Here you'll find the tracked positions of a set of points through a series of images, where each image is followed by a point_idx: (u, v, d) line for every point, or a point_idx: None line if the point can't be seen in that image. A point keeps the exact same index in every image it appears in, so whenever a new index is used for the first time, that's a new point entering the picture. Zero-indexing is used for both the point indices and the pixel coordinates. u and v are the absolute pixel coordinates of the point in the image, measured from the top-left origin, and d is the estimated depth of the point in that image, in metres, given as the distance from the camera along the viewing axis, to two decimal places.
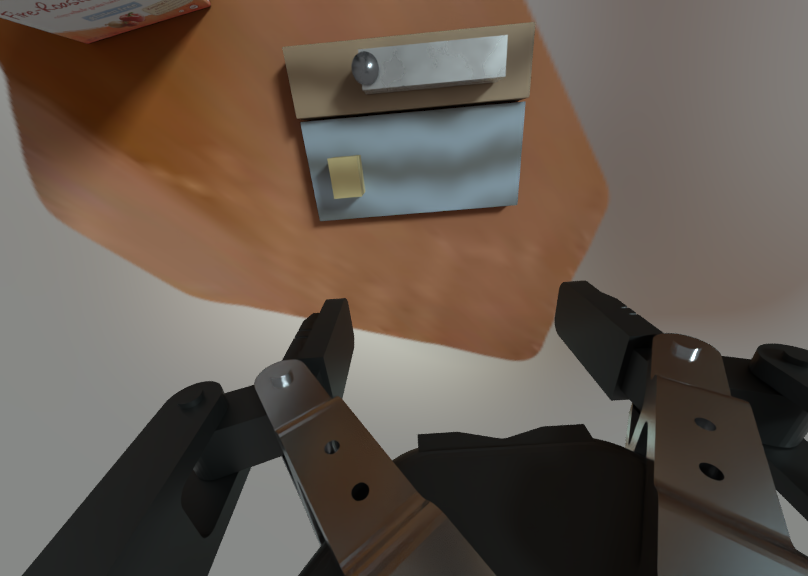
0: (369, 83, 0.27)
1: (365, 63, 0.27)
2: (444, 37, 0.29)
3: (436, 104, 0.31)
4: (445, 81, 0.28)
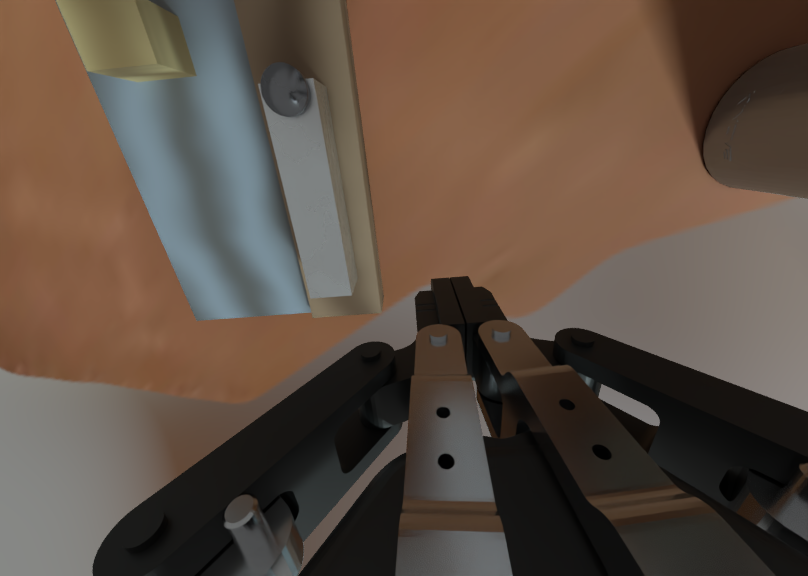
0: (264, 97, 0.16)
1: (290, 91, 0.16)
2: (361, 214, 0.23)
3: (286, 208, 0.22)
4: (293, 223, 0.20)
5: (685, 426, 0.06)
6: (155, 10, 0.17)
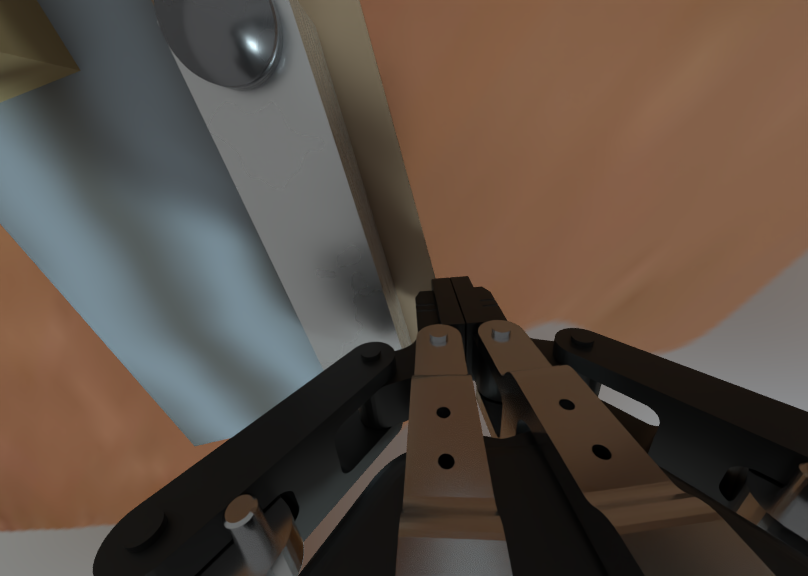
0: (174, 48, 0.07)
1: (231, 17, 0.06)
2: (416, 252, 0.13)
3: None
4: (295, 306, 0.10)
5: (685, 426, 0.06)
6: None
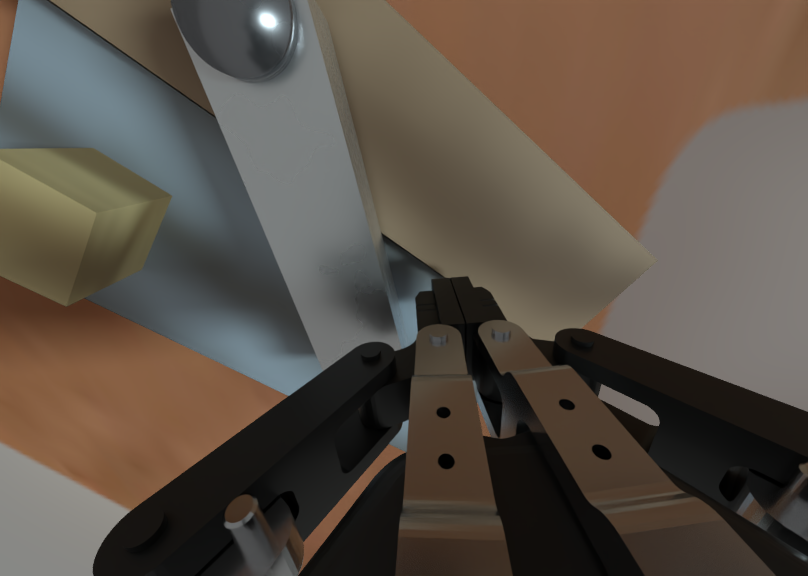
0: (188, 37, 0.07)
1: (248, 8, 0.06)
2: (510, 140, 0.11)
3: (401, 243, 0.13)
4: (296, 303, 0.10)
5: (685, 426, 0.06)
6: (47, 155, 0.10)
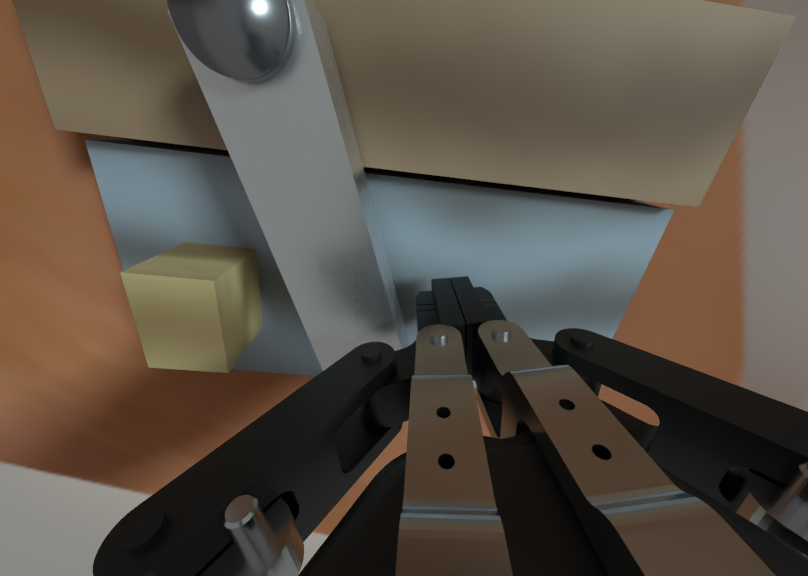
0: (185, 38, 0.07)
1: (244, 9, 0.06)
2: None
3: (469, 176, 0.12)
4: (296, 303, 0.10)
5: (685, 426, 0.06)
6: (160, 258, 0.12)
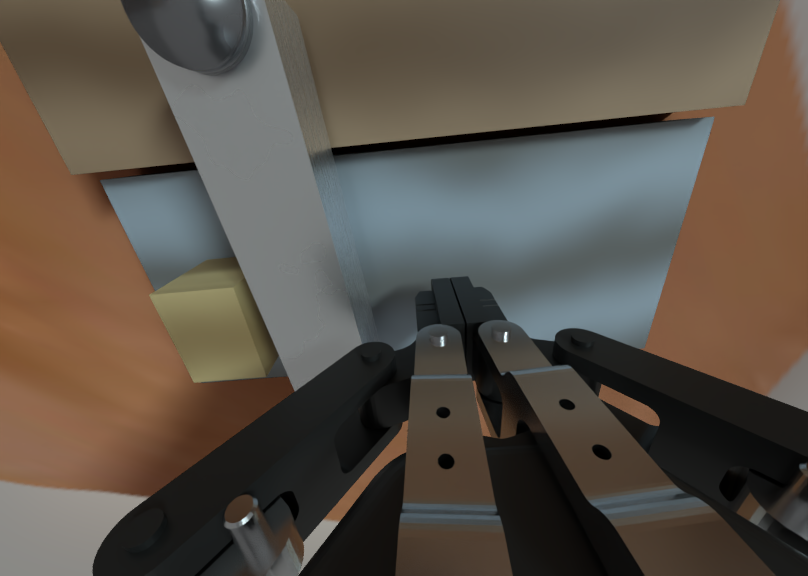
0: (136, 25, 0.06)
1: None
2: None
3: (469, 130, 0.11)
4: (257, 299, 0.10)
5: (685, 426, 0.06)
6: (184, 277, 0.12)
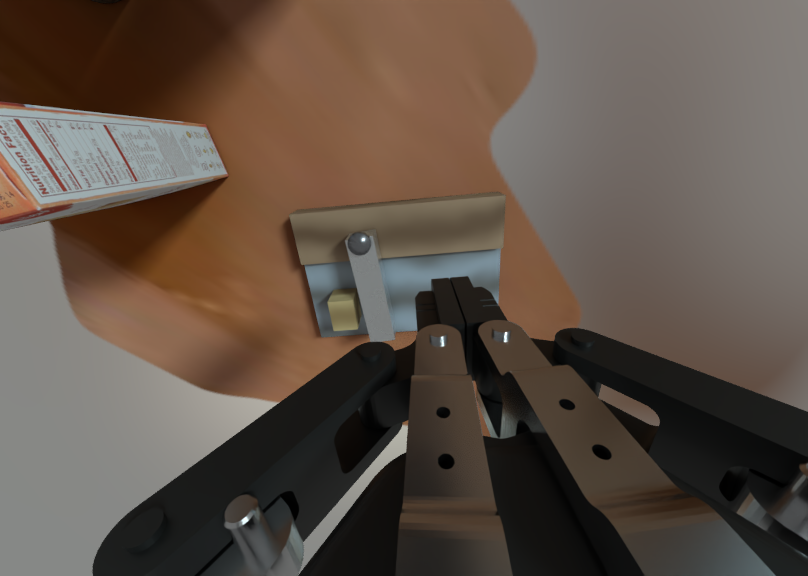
0: (349, 248, 0.32)
1: (362, 244, 0.32)
2: (427, 206, 0.34)
3: (422, 254, 0.36)
4: (361, 303, 0.35)
5: (685, 426, 0.06)
6: (332, 296, 0.37)
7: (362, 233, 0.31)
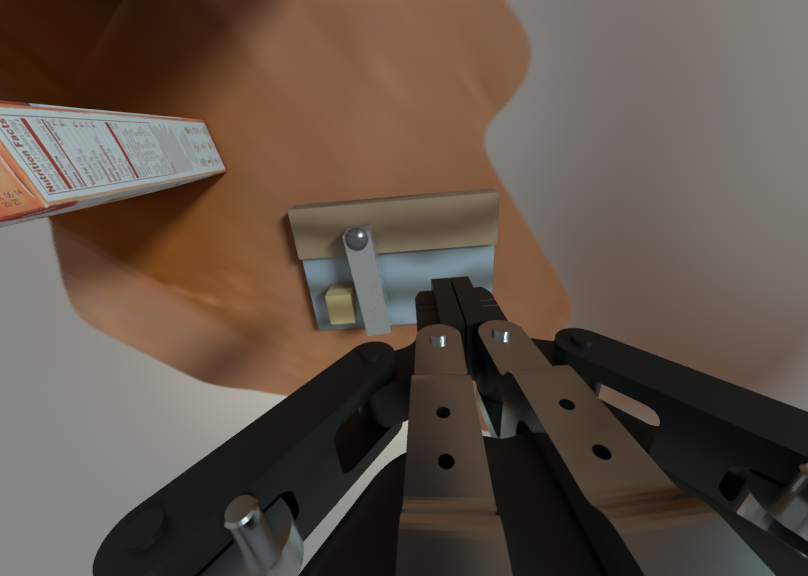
0: (346, 243, 0.33)
1: (359, 240, 0.32)
2: (423, 203, 0.34)
3: (418, 249, 0.37)
4: (358, 297, 0.36)
5: (685, 426, 0.06)
6: (330, 290, 0.38)
7: (359, 229, 0.32)
